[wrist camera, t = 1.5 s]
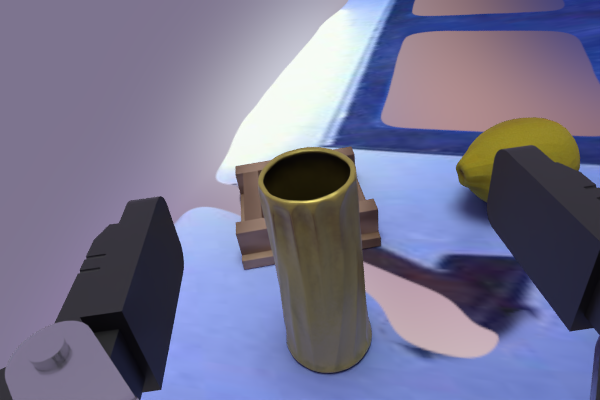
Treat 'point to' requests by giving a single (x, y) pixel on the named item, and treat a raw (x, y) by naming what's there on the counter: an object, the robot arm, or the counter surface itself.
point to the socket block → (254, 226)
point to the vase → (317, 255)
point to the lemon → (509, 135)
